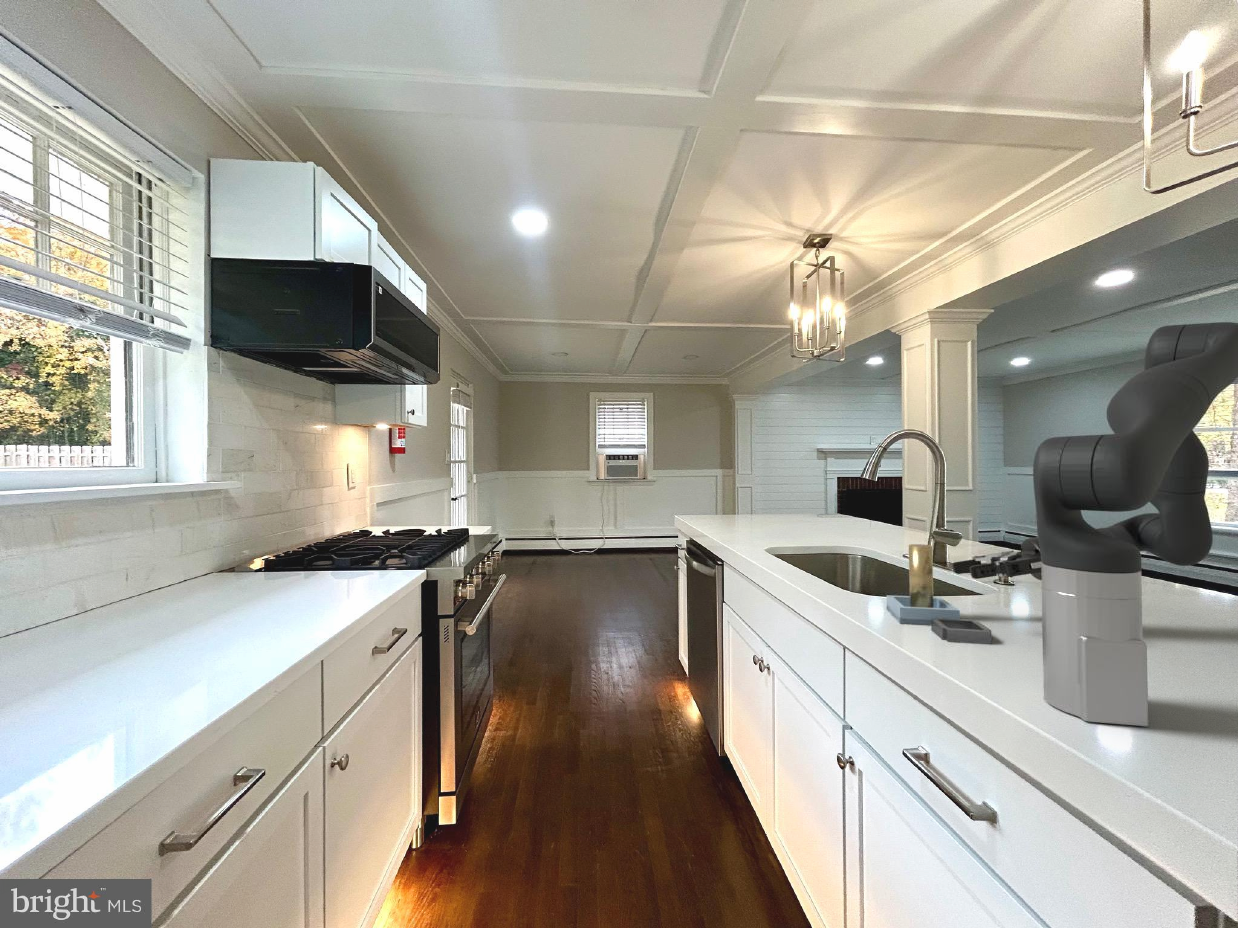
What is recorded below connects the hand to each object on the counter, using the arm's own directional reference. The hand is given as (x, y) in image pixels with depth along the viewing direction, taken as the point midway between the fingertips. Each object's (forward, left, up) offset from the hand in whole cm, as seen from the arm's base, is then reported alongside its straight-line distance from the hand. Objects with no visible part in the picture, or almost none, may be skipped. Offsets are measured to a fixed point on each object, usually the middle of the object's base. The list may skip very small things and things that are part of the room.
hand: (962, 570), depth 99 cm
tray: (+4, +6, -10) cm, 12 cm away
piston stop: (+4, +6, -9) cm, 11 cm away
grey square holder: (-7, +3, -10) cm, 13 cm away
